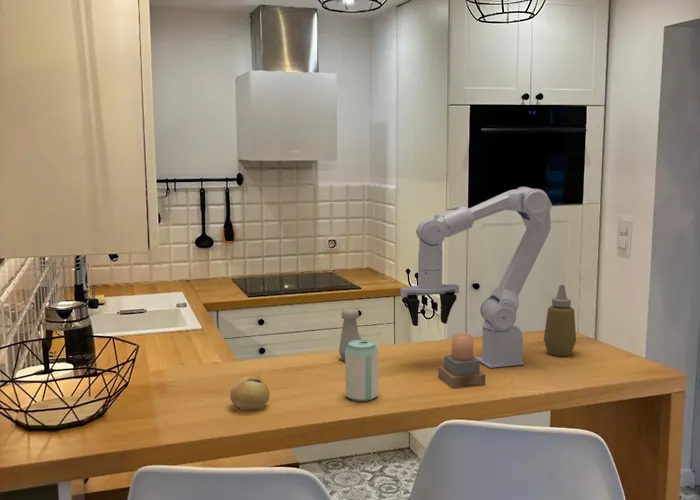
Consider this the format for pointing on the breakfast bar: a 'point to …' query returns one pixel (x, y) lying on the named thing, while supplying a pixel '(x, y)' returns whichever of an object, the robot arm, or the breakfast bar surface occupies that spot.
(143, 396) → the breakfast bar surface
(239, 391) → the onion
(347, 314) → the salt shaker
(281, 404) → the breakfast bar surface
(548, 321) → the squeeze bottle
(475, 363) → the charcoal block
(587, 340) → the breakfast bar surface
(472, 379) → the walnut slab
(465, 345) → the salmon cylinder
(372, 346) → the can
